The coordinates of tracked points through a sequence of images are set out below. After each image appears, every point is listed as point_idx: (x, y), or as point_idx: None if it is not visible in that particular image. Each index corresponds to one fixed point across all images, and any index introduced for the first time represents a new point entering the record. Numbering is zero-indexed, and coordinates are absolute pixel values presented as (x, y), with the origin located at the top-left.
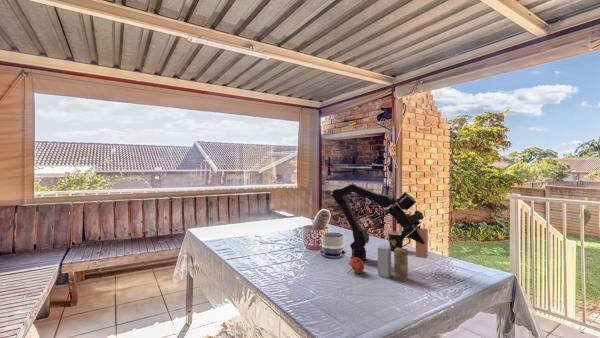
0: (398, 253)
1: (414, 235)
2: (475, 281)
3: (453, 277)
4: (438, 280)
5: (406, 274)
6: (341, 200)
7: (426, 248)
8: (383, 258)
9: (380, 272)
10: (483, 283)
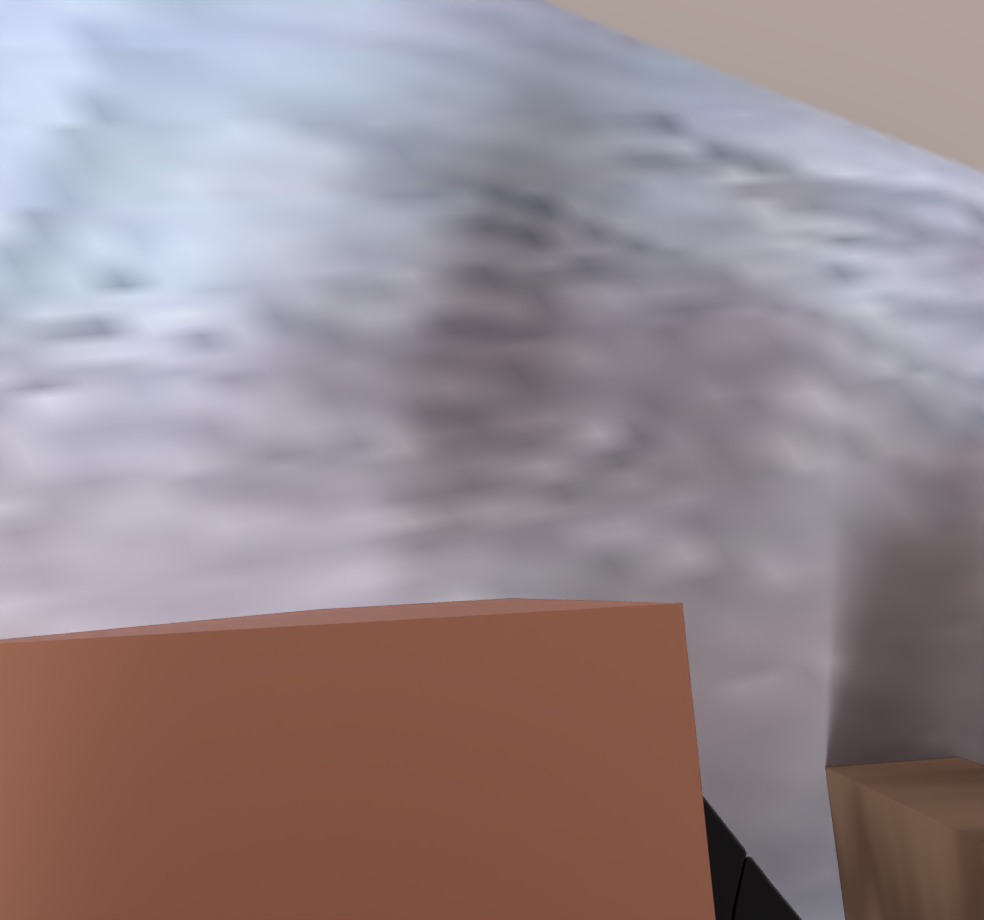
0: None
1: None
2: (464, 84)
3: (470, 287)
4: (676, 420)
5: (945, 780)
6: None
7: (502, 600)
8: None
9: None
10: (480, 19)
